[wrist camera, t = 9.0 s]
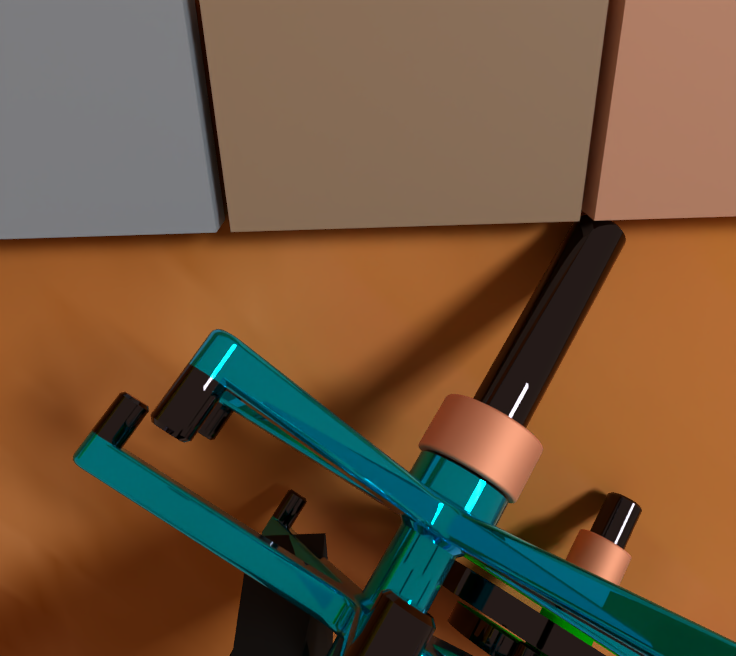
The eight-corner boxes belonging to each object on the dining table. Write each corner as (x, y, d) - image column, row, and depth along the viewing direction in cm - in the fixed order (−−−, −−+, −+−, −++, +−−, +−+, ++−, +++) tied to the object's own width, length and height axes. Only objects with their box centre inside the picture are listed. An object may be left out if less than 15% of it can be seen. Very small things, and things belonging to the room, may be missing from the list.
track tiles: (909, 198, 9) (944, 209, 8) (-101, 230, 9) (-131, 243, 8) (999, -42, 7) (1050, -48, 7) (-192, -3, 8) (-234, -4, 7)
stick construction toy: (-52, 434, 7) (340, 1396, 2) (274, 38, 9) (1020, -213, 3) (433, 655, 15) (815, 962, 9) (560, 412, 17) (946, 536, 11)
